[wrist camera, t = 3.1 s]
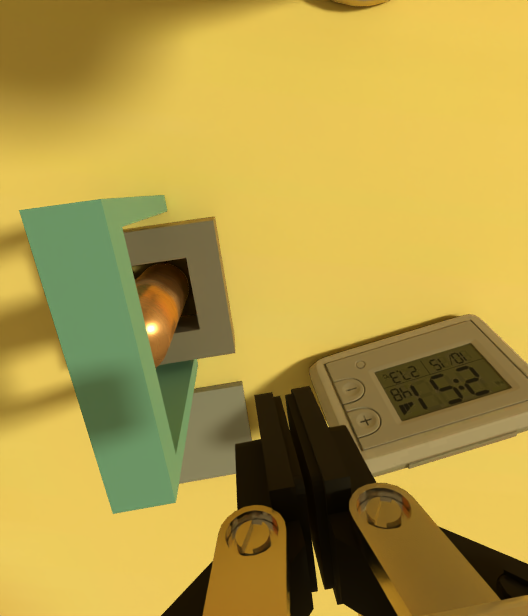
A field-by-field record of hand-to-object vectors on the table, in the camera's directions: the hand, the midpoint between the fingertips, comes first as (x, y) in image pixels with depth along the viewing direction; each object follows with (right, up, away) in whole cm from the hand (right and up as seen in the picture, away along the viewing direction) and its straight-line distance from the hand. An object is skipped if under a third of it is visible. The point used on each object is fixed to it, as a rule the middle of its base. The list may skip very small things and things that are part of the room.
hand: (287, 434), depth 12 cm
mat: (-7, -8, +24) cm, 27 cm away
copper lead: (-9, +5, +20) cm, 23 cm away
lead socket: (-9, +5, +20) cm, 23 cm away
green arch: (-9, +5, +20) cm, 23 cm away
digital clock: (+11, -1, +24) cm, 27 cm away
